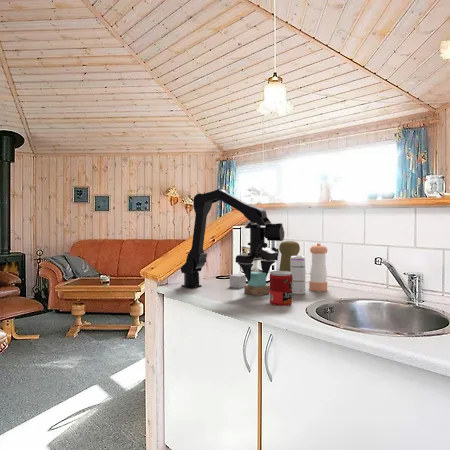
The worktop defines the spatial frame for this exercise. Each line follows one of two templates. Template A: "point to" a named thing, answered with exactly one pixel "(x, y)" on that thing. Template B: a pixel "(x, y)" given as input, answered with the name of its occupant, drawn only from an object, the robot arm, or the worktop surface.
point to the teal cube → (257, 279)
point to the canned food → (281, 288)
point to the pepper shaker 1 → (287, 254)
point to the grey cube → (237, 280)
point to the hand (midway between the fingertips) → (257, 279)
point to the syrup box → (298, 274)
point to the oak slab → (257, 290)
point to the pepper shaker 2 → (318, 269)
